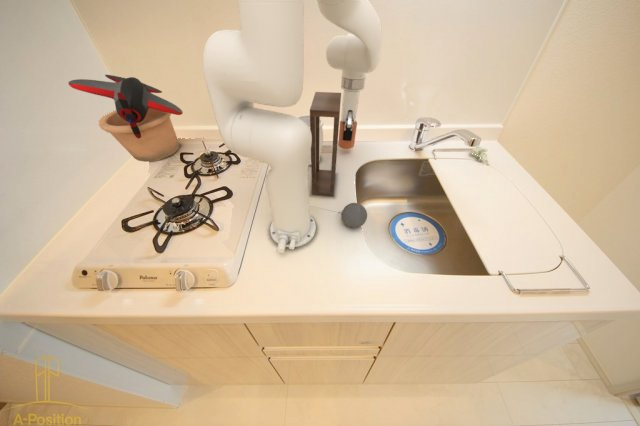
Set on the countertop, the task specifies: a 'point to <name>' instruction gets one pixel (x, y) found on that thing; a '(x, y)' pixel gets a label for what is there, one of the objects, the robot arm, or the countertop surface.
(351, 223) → the lollipop
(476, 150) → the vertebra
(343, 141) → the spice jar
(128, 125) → the pottery
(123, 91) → the toy airplane
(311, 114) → the shelf stand
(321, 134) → the jar
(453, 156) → the countertop surface
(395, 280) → the countertop surface
